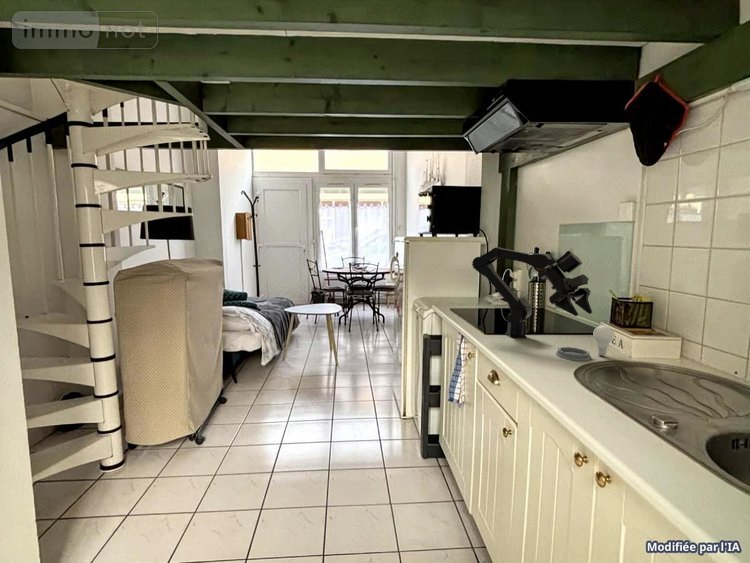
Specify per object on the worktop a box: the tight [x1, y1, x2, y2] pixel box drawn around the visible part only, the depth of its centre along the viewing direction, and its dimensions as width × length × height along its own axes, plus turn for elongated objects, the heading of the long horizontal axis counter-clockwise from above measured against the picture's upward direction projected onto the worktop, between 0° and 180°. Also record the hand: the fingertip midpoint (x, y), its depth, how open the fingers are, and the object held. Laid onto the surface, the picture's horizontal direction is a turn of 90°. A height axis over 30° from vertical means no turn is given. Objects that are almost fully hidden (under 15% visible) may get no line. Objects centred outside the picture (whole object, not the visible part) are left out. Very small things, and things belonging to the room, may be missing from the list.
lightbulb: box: [592, 324, 615, 357], centre depth 139 cm, size 6×6×11 cm
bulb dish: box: [555, 346, 592, 362], centre depth 138 cm, size 11×11×2 cm
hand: (584, 314), depth 144 cm, fingers open, 9 cm apart
